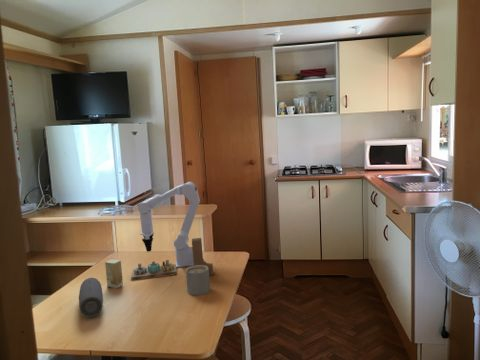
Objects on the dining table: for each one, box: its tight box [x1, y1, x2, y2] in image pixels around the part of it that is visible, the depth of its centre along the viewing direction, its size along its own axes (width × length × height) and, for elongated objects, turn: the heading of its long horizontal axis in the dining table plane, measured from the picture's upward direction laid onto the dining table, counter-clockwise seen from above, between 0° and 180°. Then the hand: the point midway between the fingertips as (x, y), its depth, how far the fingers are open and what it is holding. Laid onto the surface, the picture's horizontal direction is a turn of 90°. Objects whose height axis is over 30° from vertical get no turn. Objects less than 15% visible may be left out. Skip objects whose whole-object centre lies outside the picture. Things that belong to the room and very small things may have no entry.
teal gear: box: [147, 262, 161, 273], centre depth 202 cm, size 6×6×3 cm
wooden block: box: [191, 237, 214, 276], centre depth 195 cm, size 9×4×18 cm, turn 95°
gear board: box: [130, 259, 178, 281], centre depth 202 cm, size 22×11×6 cm, turn 101°
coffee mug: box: [185, 265, 211, 296], centre depth 178 cm, size 13×10×10 cm
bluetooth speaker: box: [78, 277, 104, 318], centre depth 166 cm, size 23×9×10 cm, turn 21°
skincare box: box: [104, 258, 124, 289], centre depth 189 cm, size 6×4×12 cm
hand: (149, 249), depth 213 cm, fingers open, 7 cm apart
